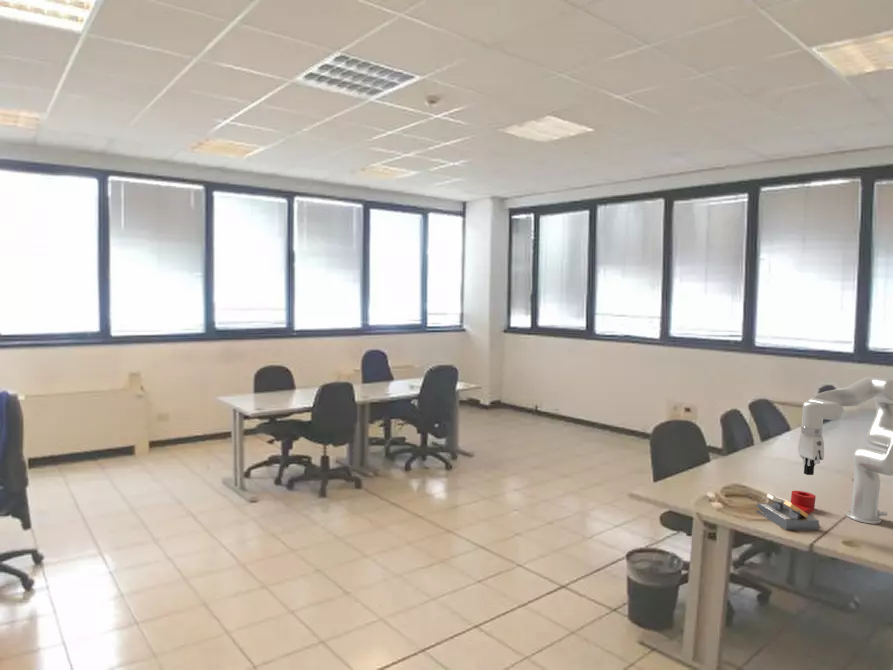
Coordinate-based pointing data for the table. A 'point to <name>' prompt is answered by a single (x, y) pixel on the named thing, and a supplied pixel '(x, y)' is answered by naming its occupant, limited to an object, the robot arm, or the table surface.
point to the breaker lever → (795, 509)
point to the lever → (803, 501)
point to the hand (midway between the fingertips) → (808, 474)
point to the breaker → (776, 498)
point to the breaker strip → (787, 517)
